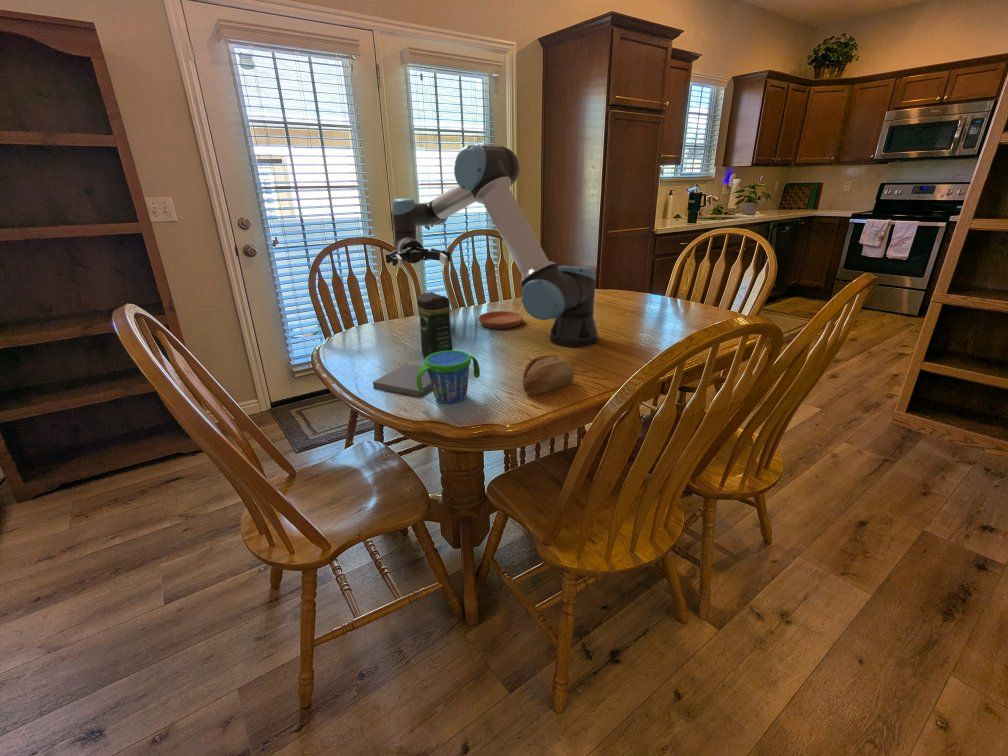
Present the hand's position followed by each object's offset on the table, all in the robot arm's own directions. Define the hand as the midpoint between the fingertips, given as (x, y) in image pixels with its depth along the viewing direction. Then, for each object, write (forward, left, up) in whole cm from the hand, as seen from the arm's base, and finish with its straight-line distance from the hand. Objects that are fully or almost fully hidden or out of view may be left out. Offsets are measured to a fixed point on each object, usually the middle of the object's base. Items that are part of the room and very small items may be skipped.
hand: (423, 262), depth 140 cm
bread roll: (-47, +18, -26) cm, 57 cm away
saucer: (-11, -29, -26) cm, 40 cm away
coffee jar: (-9, +9, -26) cm, 29 cm away
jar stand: (-14, +28, -25) cm, 41 cm away
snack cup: (-28, +33, -26) cm, 50 cm away
